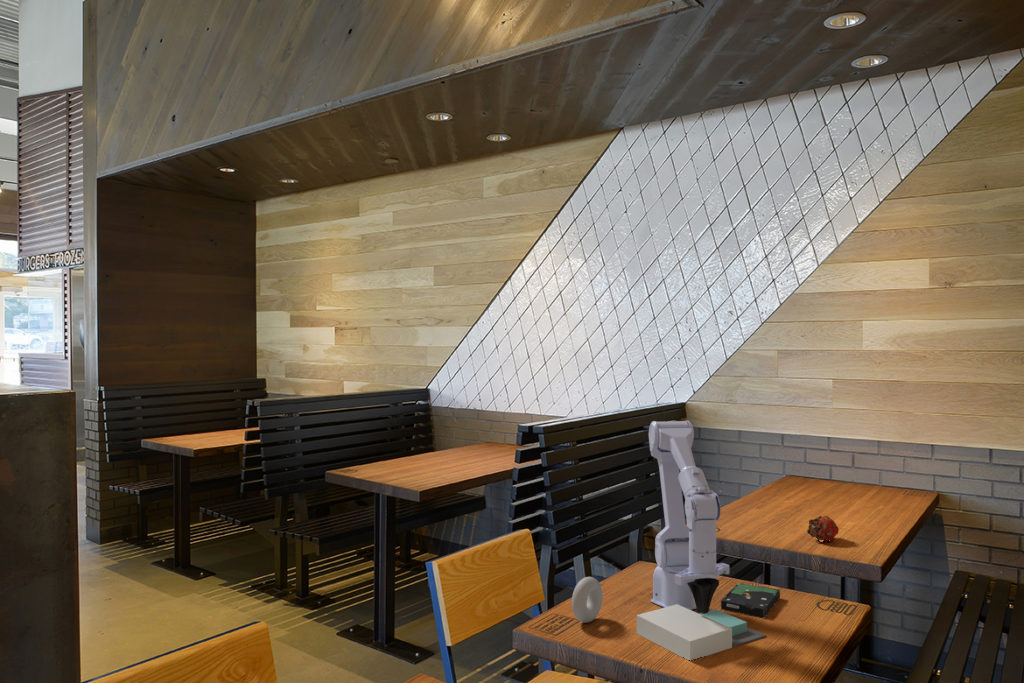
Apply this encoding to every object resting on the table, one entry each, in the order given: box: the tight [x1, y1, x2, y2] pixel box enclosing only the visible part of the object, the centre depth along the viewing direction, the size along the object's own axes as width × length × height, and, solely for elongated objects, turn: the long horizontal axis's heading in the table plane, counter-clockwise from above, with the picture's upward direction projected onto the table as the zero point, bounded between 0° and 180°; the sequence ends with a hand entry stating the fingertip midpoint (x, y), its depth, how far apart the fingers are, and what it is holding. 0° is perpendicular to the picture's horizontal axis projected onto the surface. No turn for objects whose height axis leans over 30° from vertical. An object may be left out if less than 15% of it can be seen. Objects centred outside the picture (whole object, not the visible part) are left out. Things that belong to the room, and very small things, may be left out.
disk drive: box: [720, 582, 781, 618], centre depth 177 cm, size 10×3×15 cm
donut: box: [571, 576, 604, 623], centre depth 167 cm, size 10×4×10 cm, turn 141°
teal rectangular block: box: [699, 608, 748, 636], centre depth 162 cm, size 9×6×2 cm, turn 31°
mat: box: [732, 626, 767, 648], centre depth 162 cm, size 16×10×1 cm, turn 31°
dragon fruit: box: [806, 515, 839, 542], centre depth 230 cm, size 8×8×12 cm
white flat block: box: [636, 604, 733, 662], centre depth 156 cm, size 16×12×4 cm
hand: (702, 611), depth 159 cm, fingers closed
